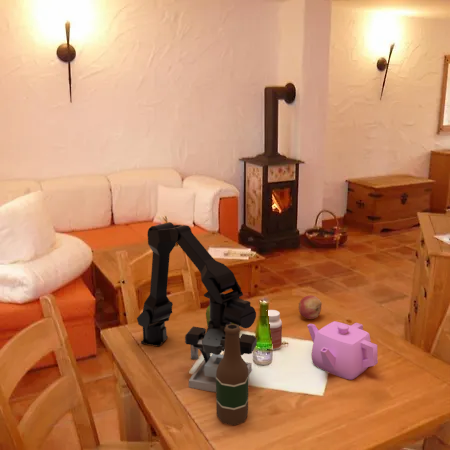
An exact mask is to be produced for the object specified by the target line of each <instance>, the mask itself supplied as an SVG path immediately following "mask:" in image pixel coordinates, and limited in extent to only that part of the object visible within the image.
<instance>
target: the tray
mask: <svg viewBox="0 0 450 450" xmlns="http://www.w3.org/2000/svg"><path fill="white" fill-rule="evenodd" d="M211 356H212V355H210V357H211ZM245 363H246V365H247V367H248V375H249V376H250V374H251V372H252V370H253V369H252V362H247V361H245ZM205 364H206V362H205V360H204V359H202V361H201V362H200V364H199V366H197V368H196V369H195V371H194V372H193V373H192V375H191V377H190V378H189V379H188V388H189V389H196V390H201V391H207V392H211V393H216V378H215V377H209V376H205V372H204V366H205Z"/></svg>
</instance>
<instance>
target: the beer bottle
mask: <svg viewBox="0 0 450 450" xmlns="http://www.w3.org/2000/svg"><path fill="white" fill-rule="evenodd" d="M224 331H225V348H224V351H223V352H224V356H223V358H222V360H221V362H220V363H219V365H218V368H217V371H216V392H215V396H216V398H215V400H216V401H215V404H216V405H215V406H216V407H215V408H216V416H217V418H218V420H220V422H221V423H222V424H225V425H229V426H236V425H239V424H242V423H245V421H246V419H247V417H248V414H249V376H250V374H249V375H248V367H247V365H246V363H245V362H246V361H245V359H243V357H242V355H241V352H240V339H239V338H240V332H241V327H239V326H238V325H236V324H229V325H226V327H225V329H224Z"/></svg>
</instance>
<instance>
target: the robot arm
mask: <svg viewBox="0 0 450 450" xmlns="http://www.w3.org/2000/svg"><path fill="white" fill-rule="evenodd" d="M146 235H147V245H148V246H149V248H150V250H151V251H152V259H151V260H152V261H151V272H150V273H151V274H150V287H149V288H150V289H149V295H148V297H146V300H145V301H144V304H143V309H142V312H141V313H140V314H139V315H138V316H137V317H136V319H137V323H138V326H139V327H142V336H143V337H142V338H143V339H142V340H141V341H140V344H143V345H147V346H148V345H149V346H153V347H154V346H155V347H160V346H162V344H163V343H164V342H165V341H166V340H167V339H168V335H167V334H168V333H167V327H166V322H168V321H170V317H171V315H172V314H173V302H172V301H171V300H170V298H169V297H168V296H167V295H168V294H167V291H168V279H169V269H170V256H171V253H172V250H174V248H175V247H176V244H177V245H178V246H179V247H180V249H181V250H182V251H183V253H184V254H185V255H186V256H187V257H188V258H189V260H190V261H191V262H192V263H193V264H194V266H195V268H197V270H198V271H199V273H200V278H201V279H200V281H201V282H202V284H203V286H204V288H205V289H206V290H207V291H206V292H205V293H204V294H203V297H205V298H207V299H209V305H210V321H209V322H208V327H207V330H206V328H205V327H200V326H194V325H193V326H192V327H190V329H189V330H188V331H187V332H186V333H185V336H184V343H185V344H186V345H190V346H191V345H193V347H194V348H197V349H198V351H200V353H201V355H202V357H203V360H205V362H206V363H207V361H208V360H209V358H210V356H211V355H212V354H215V355H219V354H222V353H223V352H224V348H225V331H224V329H225V327H226V325H229V324H231V323H234V324H236V325H238V326H240V328H242V329H249V328H250V327H252V326H253V324H254V323H255V321H256V316H257V312H256V310H255V308H254V307H253V306H251V302H250V301H249V300H246V299H242V298H240V297H243V296H244V294H243V291H242V288H241V286H240V284H239V283H238V280H237V279H236V276H235V273H234V272H233V271H232V270H231V269H230V268H229V267H228V266H227V265H225V264H224V263H222V262H220V261H217V260H216V259H214V257H213V256H212V255H211V254H210V252H209V251H208V250H207V249H206V248H205V246H204V245H203V244H202V242H200V240H198V238H197V237H196V236H195V235H194V233H193V232H192V229H191V227H190V226H189V225H186V224H183V225H182V224H174V223H173V222H164V223H160V224H156V225H152V226H150V227H149V228H148V230H147V234H146ZM230 290H232V291H230ZM227 291H230V292H227ZM224 292H227V293H224ZM239 339H240V352H241V356H243V355H251V354H252V353H253V351H254V350H255V348H256V346H257V341H258V340H257V337H256V336H255V335H253V334H246V333H241V335H240V336H239Z"/></svg>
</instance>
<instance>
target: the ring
mask: <svg viewBox="0 0 450 450" xmlns="http://www.w3.org/2000/svg"><path fill="white" fill-rule="evenodd" d="M210 356H211V357H210V358H209V360H208V361H207V363H206V364H205V366H204V372H205V376H209V377H215V378H216V371H217V368H218V365H219V363H220V362H221V360H222V358H223V356H224V351H222V352H221V353H220V354H219V355H215V354H212V353H211V355H210Z"/></svg>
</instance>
